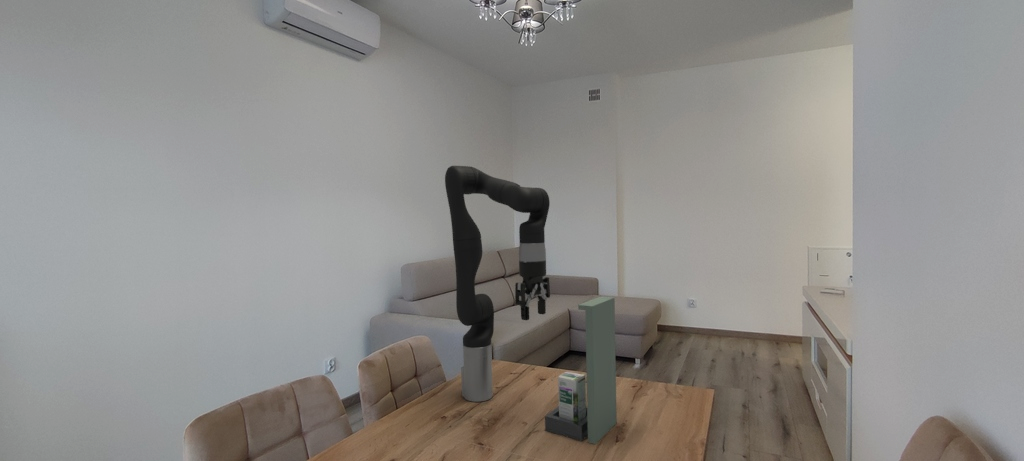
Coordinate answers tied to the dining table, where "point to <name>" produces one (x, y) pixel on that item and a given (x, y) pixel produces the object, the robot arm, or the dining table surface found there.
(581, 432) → the socket
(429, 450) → the dining table surface
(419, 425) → the dining table surface
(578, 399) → the syrup box
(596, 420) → the long narrow green plank
